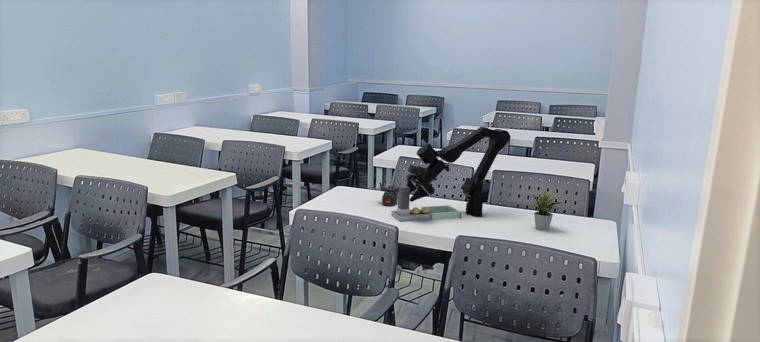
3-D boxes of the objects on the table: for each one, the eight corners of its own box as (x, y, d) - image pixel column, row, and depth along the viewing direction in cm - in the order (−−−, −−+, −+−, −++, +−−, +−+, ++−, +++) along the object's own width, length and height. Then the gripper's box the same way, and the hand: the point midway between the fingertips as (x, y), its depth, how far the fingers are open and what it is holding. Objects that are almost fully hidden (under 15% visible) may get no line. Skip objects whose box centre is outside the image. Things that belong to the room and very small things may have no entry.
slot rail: (448, 212, 236) (448, 206, 236) (460, 219, 225) (461, 213, 225) (390, 215, 228) (390, 210, 228) (400, 223, 217) (400, 217, 216)
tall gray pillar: (405, 216, 226) (407, 185, 224) (409, 218, 222) (410, 187, 220) (396, 216, 225) (398, 186, 222) (400, 219, 221) (401, 188, 219)
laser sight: (402, 197, 262) (403, 177, 261) (398, 208, 240) (399, 187, 239) (382, 196, 263) (383, 176, 262) (377, 207, 242) (377, 185, 240)
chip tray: (448, 210, 236) (448, 205, 236) (460, 218, 225) (461, 212, 225) (421, 212, 232) (421, 206, 232) (432, 219, 221) (432, 213, 221)
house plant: (533, 235, 206) (537, 193, 203) (515, 225, 219) (518, 185, 216) (566, 233, 210) (570, 192, 207) (546, 223, 223) (549, 184, 220)
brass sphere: (418, 215, 228) (418, 206, 227) (421, 217, 224) (422, 208, 223) (409, 215, 226) (409, 206, 226) (412, 218, 223) (413, 208, 222)
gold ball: (427, 214, 229) (428, 205, 228) (431, 217, 225) (432, 207, 225) (419, 215, 228) (419, 206, 227) (422, 217, 224) (423, 208, 223)
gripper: (411, 154, 230) (386, 180, 228) (429, 161, 212) (401, 190, 211) (427, 172, 233) (402, 198, 232) (446, 181, 216) (419, 208, 215)
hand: (406, 198), depth 222 cm, fingers open, 9 cm apart
